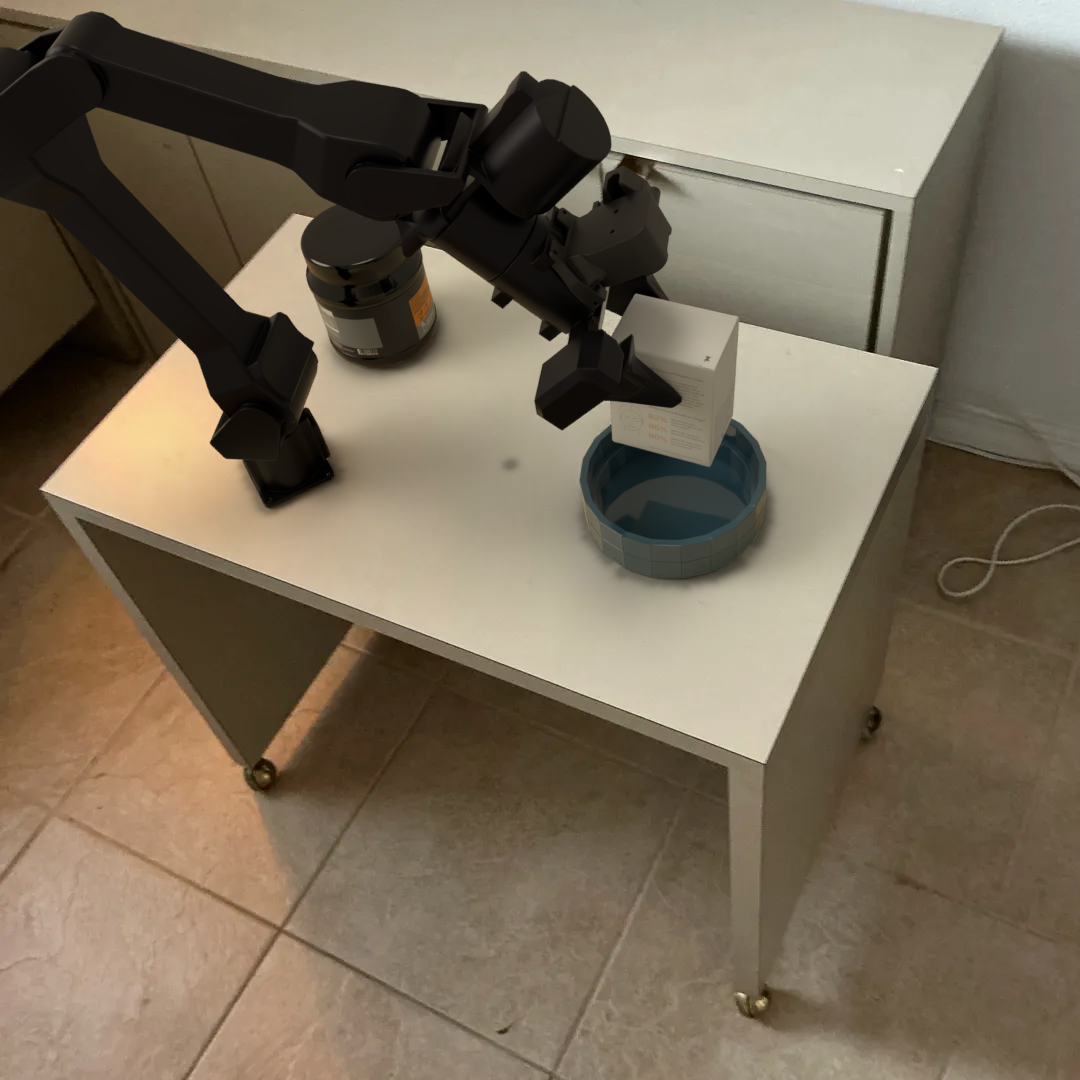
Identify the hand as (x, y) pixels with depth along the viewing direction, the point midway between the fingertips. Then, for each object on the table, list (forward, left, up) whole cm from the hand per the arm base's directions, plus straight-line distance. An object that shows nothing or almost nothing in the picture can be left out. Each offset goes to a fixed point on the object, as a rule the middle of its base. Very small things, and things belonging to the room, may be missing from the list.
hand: (681, 369), depth 80 cm
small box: (-1, +1, -7) cm, 7 cm away
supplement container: (-14, +32, -13) cm, 37 cm away
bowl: (-2, -1, -13) cm, 13 cm away
